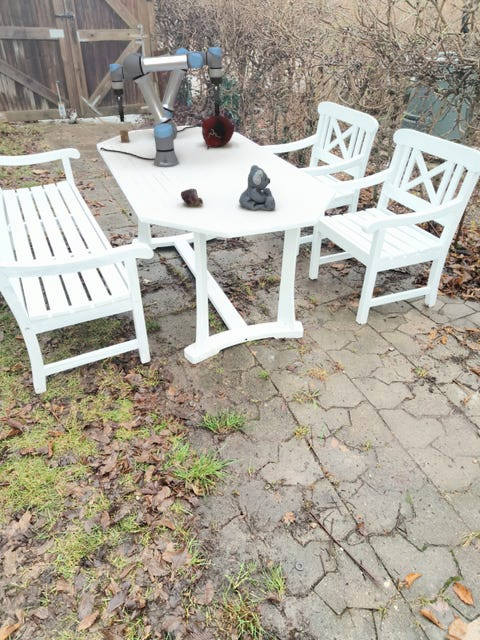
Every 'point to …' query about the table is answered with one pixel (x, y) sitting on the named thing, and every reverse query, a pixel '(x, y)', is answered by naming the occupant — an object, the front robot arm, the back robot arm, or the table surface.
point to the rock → (191, 197)
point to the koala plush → (257, 191)
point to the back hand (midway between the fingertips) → (122, 120)
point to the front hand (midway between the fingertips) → (217, 113)
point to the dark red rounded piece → (217, 131)
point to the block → (124, 136)
